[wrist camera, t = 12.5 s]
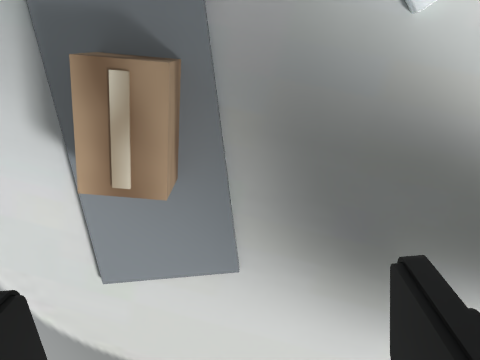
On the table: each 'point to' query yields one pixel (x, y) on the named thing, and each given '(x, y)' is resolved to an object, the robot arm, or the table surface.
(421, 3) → the external hard drive
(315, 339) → the table surface
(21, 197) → the table surface
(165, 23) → the mat
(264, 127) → the table surface
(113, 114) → the card box
